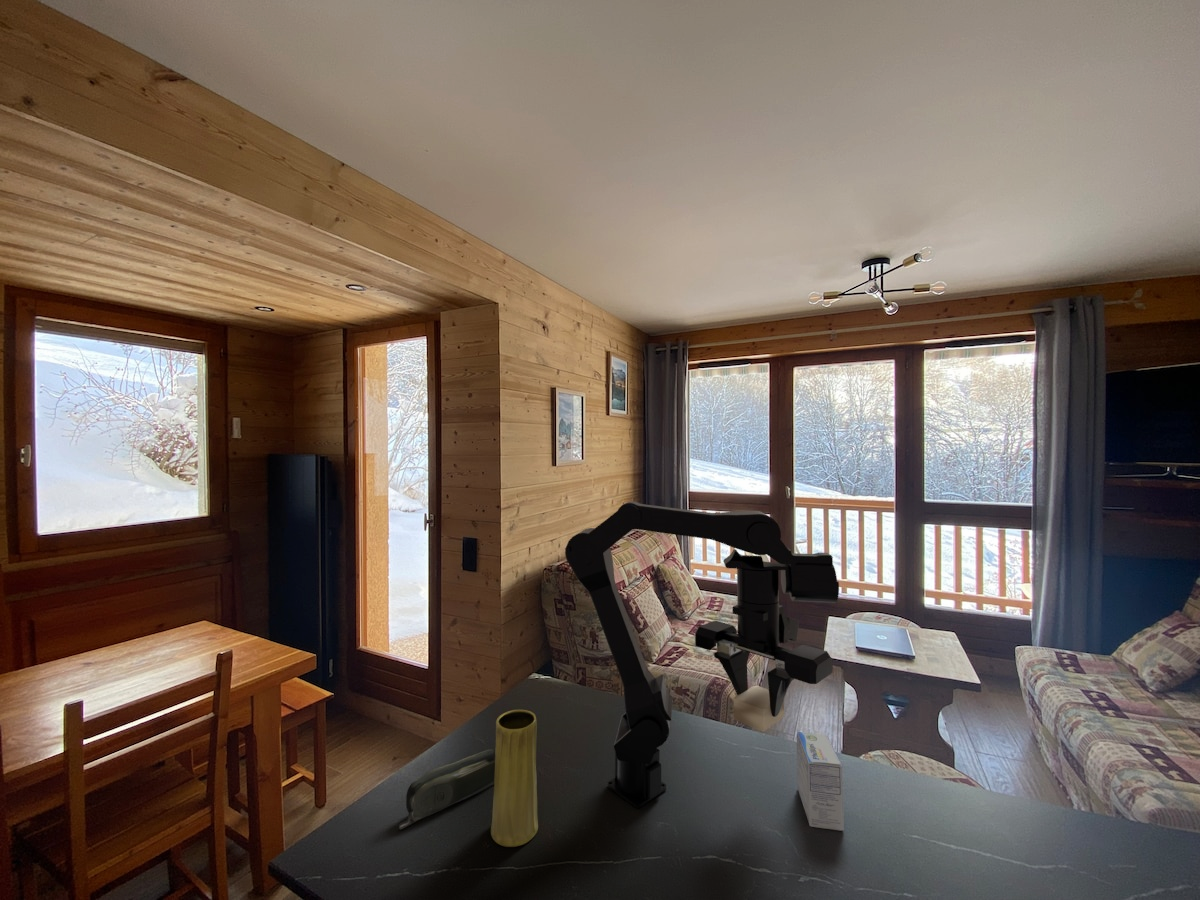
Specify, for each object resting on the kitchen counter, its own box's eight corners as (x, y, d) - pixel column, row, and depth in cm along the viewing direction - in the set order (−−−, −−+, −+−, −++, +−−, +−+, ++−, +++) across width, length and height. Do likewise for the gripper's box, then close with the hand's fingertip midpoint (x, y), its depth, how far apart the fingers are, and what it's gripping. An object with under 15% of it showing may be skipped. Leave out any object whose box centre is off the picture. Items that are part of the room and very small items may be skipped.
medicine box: (844, 833, 63) (844, 765, 63) (808, 827, 64) (807, 761, 64) (828, 793, 71) (828, 733, 71) (796, 789, 72) (796, 730, 72)
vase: (545, 819, 65) (547, 712, 65) (524, 854, 59) (526, 735, 60) (506, 808, 67) (507, 704, 67) (481, 840, 61) (483, 726, 62)
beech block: (733, 719, 68) (733, 697, 69) (755, 705, 72) (755, 685, 73) (763, 732, 65) (762, 709, 65) (784, 716, 69) (784, 695, 69)
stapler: (492, 742, 75) (394, 783, 64) (502, 750, 73) (403, 794, 62) (490, 775, 75) (392, 822, 64) (501, 784, 72) (401, 834, 62)
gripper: (847, 601, 68) (850, 714, 67) (732, 579, 82) (733, 672, 81) (813, 618, 60) (815, 745, 60) (692, 590, 74) (693, 693, 74)
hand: (759, 709), depth 69 cm, fingers closed on beech block, 4 cm apart
